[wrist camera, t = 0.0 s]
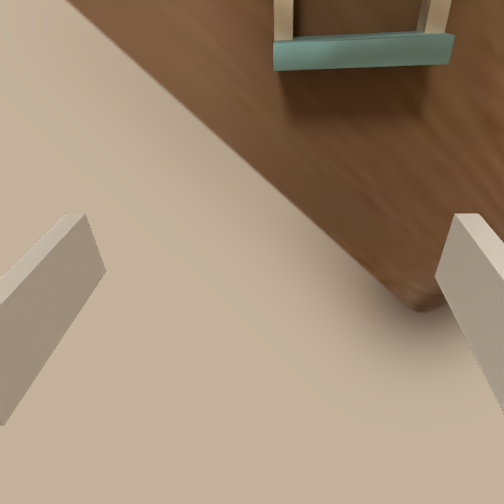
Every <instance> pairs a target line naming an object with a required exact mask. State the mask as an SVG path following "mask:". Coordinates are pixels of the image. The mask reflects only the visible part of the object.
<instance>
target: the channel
mask: <svg viewBox="0 0 504 504" xmlns="http://www.w3.org/2000/svg"><path fill="white" fill-rule="evenodd" d="M451 1H452V0H422V1H421V7H420V12H419V18H418V23H417V29H416V31H403V32H382V33H362V34H341V35H320V36H300V37H293V0H274V43H273V66H274V71H284V70H309V69H334V68H359V67H385V66H410V65H435V64H449V60H450V56H451V52H452V48H453V43H454V39H455V35H452V34H448V33H445V28H446V23H447V19H448V14H449V10H450V5H451Z"/></svg>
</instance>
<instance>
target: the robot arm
mask: <svg viewBox="0 0 504 504" xmlns="http://www.w3.org/2000/svg"><path fill="white" fill-rule="evenodd" d="M105 272H106V270H105V267H104V264H103V261H102V258H101V256H100V253H99V250H98V247H97V245H96V242H95V239H94V237H93V234H92V231H91V228H90V225H89V223H88V220H87V217H86V214H65V215H64V216H63V217H62V218H61V219H60V220H59V221H58V222H57V223H56V224H55V225H54V226H53V227H52V228H51V229H50V230H49V231H48V232H47V233H46V234H45V235H44V236H43V237H42V238H41V239H40V240H39V241H38V242H36V244H35V245H33V246H32V247H31V248H30V250H28V251H27V252H26V253H25V254H24V255H23V256H22V257H21V258H20V259H19V260H18V261H17V262H16V263H15V264H14V265H13V266H12V267H11V268H10V269H9V270H8V271H7V272H6V273H5V274H4V275H3V276H2V277H1V278H0V425H5V423H6V422H7V420H8V419H9V417H10V416H11V414H12V413H13V411H14V410H15V408H16V407H17V405H18V404H19V402H20V401H21V399H22V398H23V396H24V395H25V393H26V392H27V390H28V389H29V387H30V386H31V384H32V382H33V381H34V380H35V378H36V377H37V375H38V374H39V372H40V370H41V369H42V368H43V366H44V365H45V363H46V361H47V360H48V358H49V357H50V355H51V354H52V352H53V351H54V349H55V348H56V346H57V345H58V343H59V342H60V340H61V339H62V337H63V336H64V334H65V333H66V331H67V330H68V328H69V327H70V325H71V324H72V322H73V321H74V319H75V318H76V316H77V314H78V313H79V312H80V310H81V308H82V307H83V306H84V304H85V302H86V301H87V299H88V298H89V296H90V295H91V293H92V292H93V290H94V289H95V287H96V286H97V284H98V283H99V281H100V280H101V278H102V277H103V275H104V274H105ZM435 278H436V280H437V282H438V284H439V286H440V288H441V290H442V292H443V294H444V296H445V298H446V300H447V302H448V304H449V306H450V308H451V310H452V312H453V314H454V316H455V318H456V320H457V322H458V324H459V326H460V328H461V330H462V332H463V334H464V336H465V338H466V340H467V342H468V344H469V346H470V348H471V349H472V352H473V354H474V356H475V358H476V360H477V362H478V364H479V366H480V367H481V370H482V372H483V373H484V375H485V377H486V379H487V381H488V383H489V385H490V387H491V389H492V391H493V393H494V395H495V397H496V399H497V401H498V403H499V405H500V407H501V409H502V411H503V413H504V243H503V242H502V241H501V239H500V238H499V237H498V236H497V235H496V233H495V232H494V231H493V230H492V229H491V228H490V226H489V225H488V224H487V223H486V222H485V220H484V219H483V218H482V217H481V216H480V215H479V214H454V217H453V221H452V224H451V227H450V230H449V233H448V236H447V240H446V243H445V246H444V249H443V252H442V255H441V259H440V262H439V265H438V268H437V271H436V274H435Z"/></svg>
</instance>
